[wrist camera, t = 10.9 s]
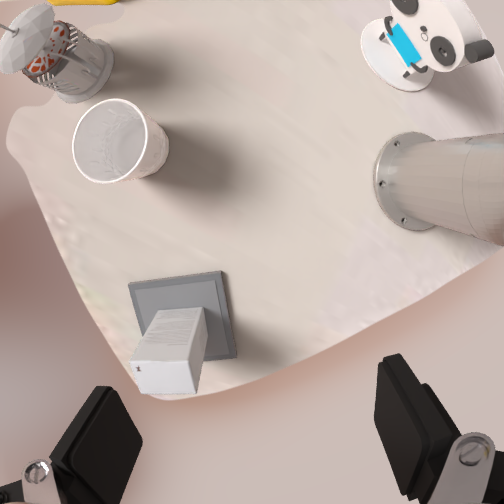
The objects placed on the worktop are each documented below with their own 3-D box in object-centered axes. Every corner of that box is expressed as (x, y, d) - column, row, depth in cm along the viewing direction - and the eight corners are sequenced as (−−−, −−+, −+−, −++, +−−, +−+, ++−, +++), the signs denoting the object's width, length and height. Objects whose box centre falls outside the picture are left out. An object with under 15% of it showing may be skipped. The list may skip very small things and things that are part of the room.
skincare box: (165, 338, 38) (138, 395, 26) (158, 309, 37) (126, 360, 25) (210, 336, 38) (197, 395, 26) (204, 305, 37) (188, 359, 25)
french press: (75, 34, 29) (-36, -40, 4) (138, 48, 30) (31, -62, 6) (43, 95, 31) (-92, 59, 6) (102, 115, 32) (-52, 67, 8)
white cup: (141, 195, 35) (105, 202, 25) (102, 150, 33) (58, 145, 23) (188, 148, 33) (166, 137, 24) (146, 104, 32) (113, 82, 22)
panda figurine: (341, 26, 30) (384, -36, 15) (401, 9, 29) (453, -38, 14) (390, 102, 32) (460, 72, 18) (445, 79, 31) (515, 52, 16)
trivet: (220, 270, 37) (220, 272, 36) (236, 354, 40) (236, 358, 39) (129, 282, 37) (127, 285, 36) (153, 361, 40) (151, 364, 39)
